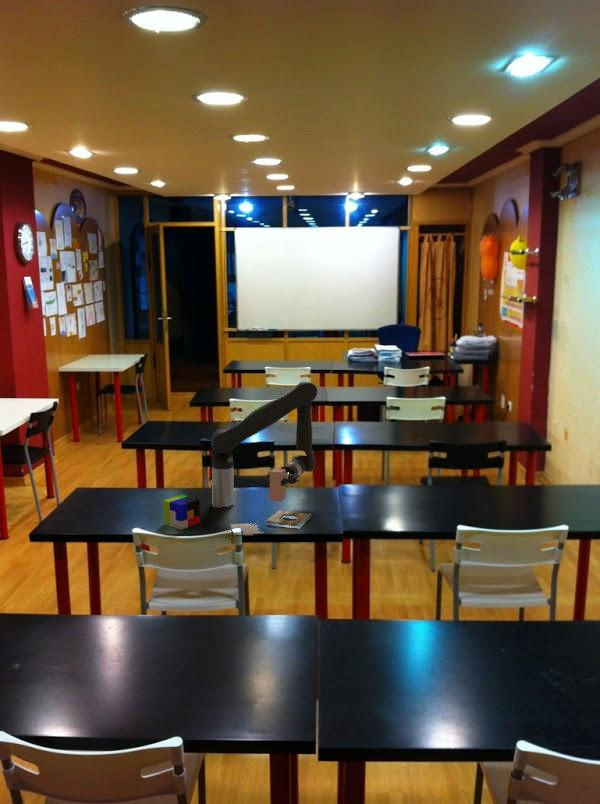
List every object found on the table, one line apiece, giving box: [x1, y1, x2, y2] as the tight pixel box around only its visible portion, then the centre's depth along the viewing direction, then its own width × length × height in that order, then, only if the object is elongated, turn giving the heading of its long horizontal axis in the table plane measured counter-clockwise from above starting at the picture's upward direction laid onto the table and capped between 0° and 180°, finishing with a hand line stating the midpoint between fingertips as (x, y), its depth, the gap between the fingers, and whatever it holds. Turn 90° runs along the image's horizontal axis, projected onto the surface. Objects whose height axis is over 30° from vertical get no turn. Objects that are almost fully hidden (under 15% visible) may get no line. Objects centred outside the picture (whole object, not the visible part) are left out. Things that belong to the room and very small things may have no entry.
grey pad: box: [229, 522, 264, 537], centre depth 280 cm, size 12×12×1 cm
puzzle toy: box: [163, 494, 201, 530], centre depth 286 cm, size 10×10×10 cm
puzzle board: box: [266, 509, 312, 526], centre depth 289 cm, size 14×14×2 cm
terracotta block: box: [268, 467, 287, 502], centre depth 284 cm, size 5×5×12 cm
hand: (275, 482), depth 282 cm, fingers closed on terracotta block, 5 cm apart
